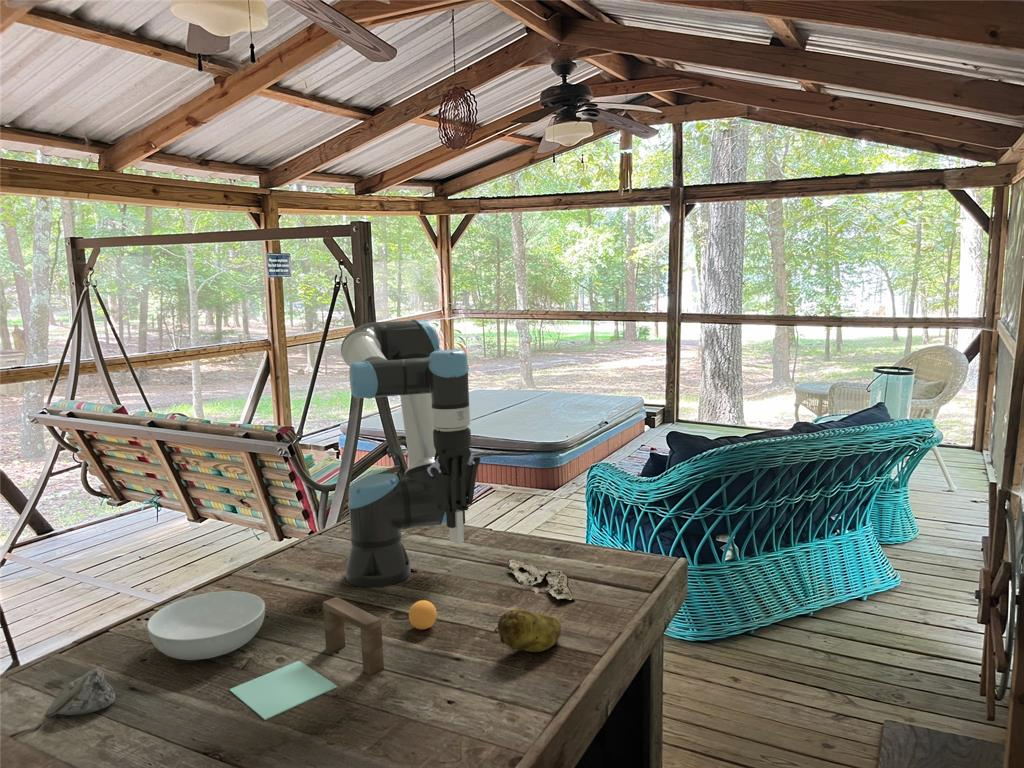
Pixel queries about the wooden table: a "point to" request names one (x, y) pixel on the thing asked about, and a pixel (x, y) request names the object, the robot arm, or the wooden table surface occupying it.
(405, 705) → the wooden table surface
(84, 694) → the grey rock
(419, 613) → the ball
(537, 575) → the driftwood
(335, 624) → the bridge
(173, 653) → the serving bowl
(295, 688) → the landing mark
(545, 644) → the potato
